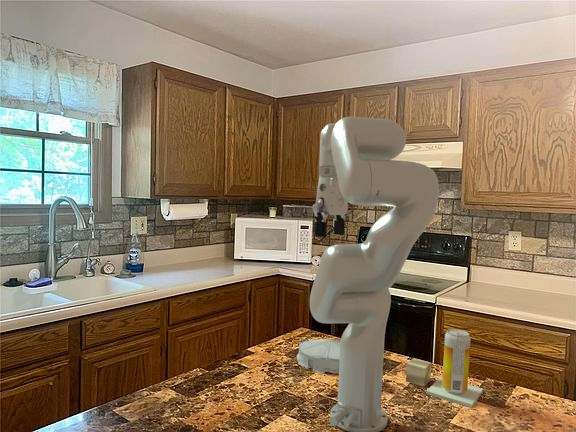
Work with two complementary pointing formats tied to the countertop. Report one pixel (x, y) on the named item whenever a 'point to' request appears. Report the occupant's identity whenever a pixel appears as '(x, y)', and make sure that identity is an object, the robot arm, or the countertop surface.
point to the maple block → (418, 372)
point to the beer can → (456, 361)
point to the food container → (320, 355)
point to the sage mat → (463, 399)
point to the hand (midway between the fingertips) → (330, 235)
